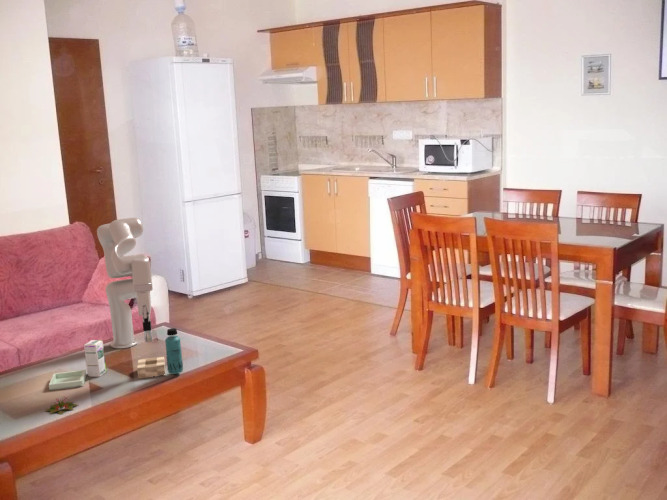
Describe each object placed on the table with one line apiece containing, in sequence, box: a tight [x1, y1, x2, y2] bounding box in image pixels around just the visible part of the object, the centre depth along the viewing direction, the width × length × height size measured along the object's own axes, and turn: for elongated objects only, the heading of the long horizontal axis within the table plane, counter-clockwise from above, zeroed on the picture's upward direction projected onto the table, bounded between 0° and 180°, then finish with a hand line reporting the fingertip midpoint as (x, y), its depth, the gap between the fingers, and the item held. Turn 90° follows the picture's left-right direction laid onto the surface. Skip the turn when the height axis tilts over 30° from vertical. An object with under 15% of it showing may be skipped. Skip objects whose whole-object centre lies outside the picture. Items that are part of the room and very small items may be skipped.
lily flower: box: [44, 396, 78, 415], centre depth 265 cm, size 12×12×5 cm
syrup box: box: [83, 339, 108, 378], centre depth 297 cm, size 6×6×14 cm
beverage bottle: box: [164, 328, 184, 375], centre depth 292 cm, size 6×7×20 cm
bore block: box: [136, 356, 166, 379], centre depth 297 cm, size 11×11×4 cm
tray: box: [48, 369, 87, 391], centre depth 290 cm, size 13×13×2 cm
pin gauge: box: [141, 313, 153, 343], centre depth 293 cm, size 3×3×14 cm
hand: (147, 328), depth 294 cm, fingers closed on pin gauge, 3 cm apart
